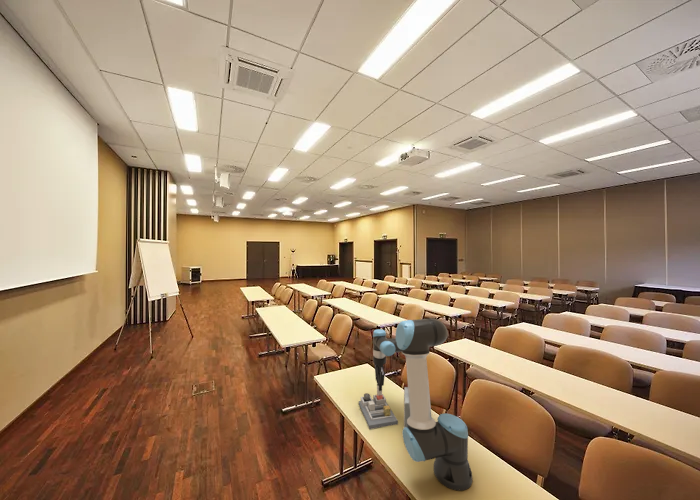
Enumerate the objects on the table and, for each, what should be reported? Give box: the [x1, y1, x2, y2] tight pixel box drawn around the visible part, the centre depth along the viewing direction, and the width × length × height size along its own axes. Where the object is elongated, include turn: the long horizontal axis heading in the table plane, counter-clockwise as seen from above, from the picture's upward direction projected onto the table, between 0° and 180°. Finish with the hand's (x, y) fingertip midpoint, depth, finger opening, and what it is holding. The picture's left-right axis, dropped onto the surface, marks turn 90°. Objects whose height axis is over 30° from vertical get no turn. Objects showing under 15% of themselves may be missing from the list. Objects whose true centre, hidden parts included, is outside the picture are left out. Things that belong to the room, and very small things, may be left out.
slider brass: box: [383, 406, 391, 417], centre depth 147 cm, size 3×3×4 cm
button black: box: [363, 393, 371, 402], centre depth 156 cm, size 4×4×3 cm
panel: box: [358, 393, 399, 430], centre depth 151 cm, size 22×16×5 cm
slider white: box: [368, 401, 375, 412], centre depth 151 cm, size 3×3×4 cm
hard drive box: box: [403, 386, 410, 428], centre depth 135 cm, size 16×8×20 cm, turn 168°
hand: (379, 394), depth 158 cm, fingers closed
